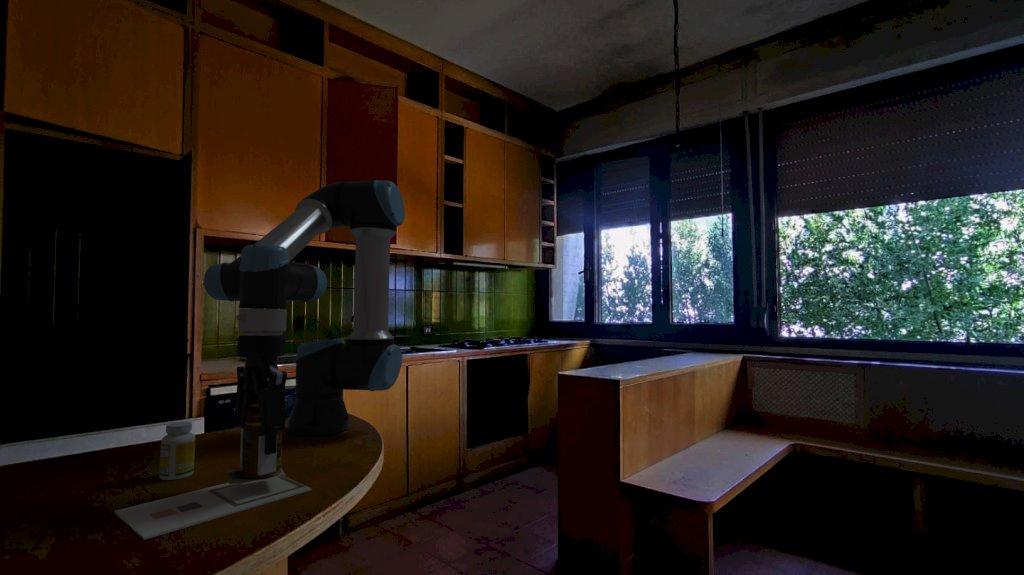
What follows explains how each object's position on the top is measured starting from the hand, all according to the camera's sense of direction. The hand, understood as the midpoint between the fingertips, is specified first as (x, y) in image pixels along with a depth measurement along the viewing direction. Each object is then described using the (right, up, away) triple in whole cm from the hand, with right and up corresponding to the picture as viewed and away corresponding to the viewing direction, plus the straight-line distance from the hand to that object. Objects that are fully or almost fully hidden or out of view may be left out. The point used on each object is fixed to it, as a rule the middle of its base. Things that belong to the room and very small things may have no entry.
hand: (257, 468), depth 85 cm
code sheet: (-4, -3, -5) cm, 7 cm away
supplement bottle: (-19, -4, +7) cm, 20 cm away
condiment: (0, -1, 0) cm, 1 cm away
